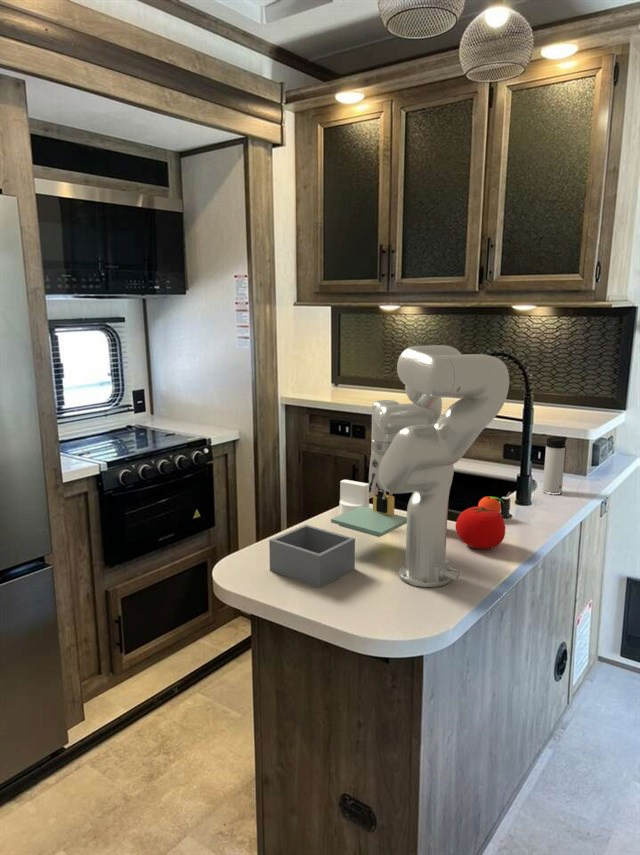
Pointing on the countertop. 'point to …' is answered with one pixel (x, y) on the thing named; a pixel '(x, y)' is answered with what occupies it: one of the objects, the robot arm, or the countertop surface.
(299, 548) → the tub
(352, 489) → the cylinder with rectangular tab
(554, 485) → the travel mug
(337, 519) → the door
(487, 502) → the clementine
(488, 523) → the tomato
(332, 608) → the countertop surface
